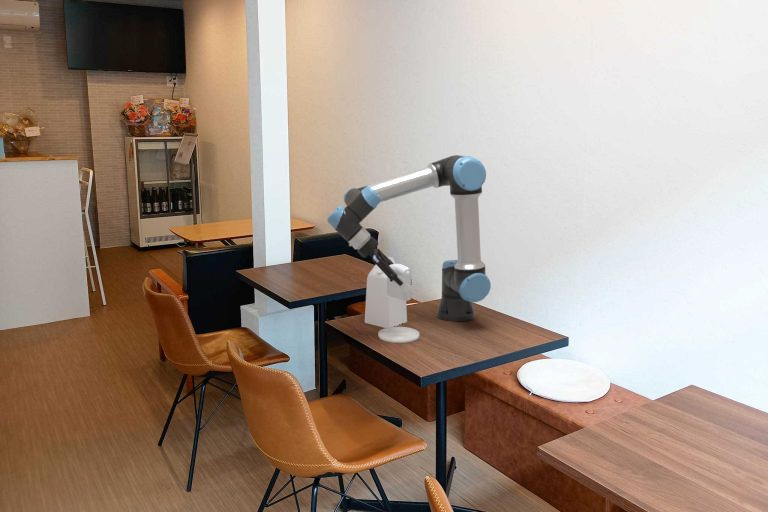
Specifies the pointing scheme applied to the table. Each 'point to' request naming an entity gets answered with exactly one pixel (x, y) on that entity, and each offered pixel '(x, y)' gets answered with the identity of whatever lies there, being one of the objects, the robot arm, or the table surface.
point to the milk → (382, 302)
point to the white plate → (398, 334)
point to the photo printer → (393, 288)
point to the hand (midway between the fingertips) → (408, 287)
